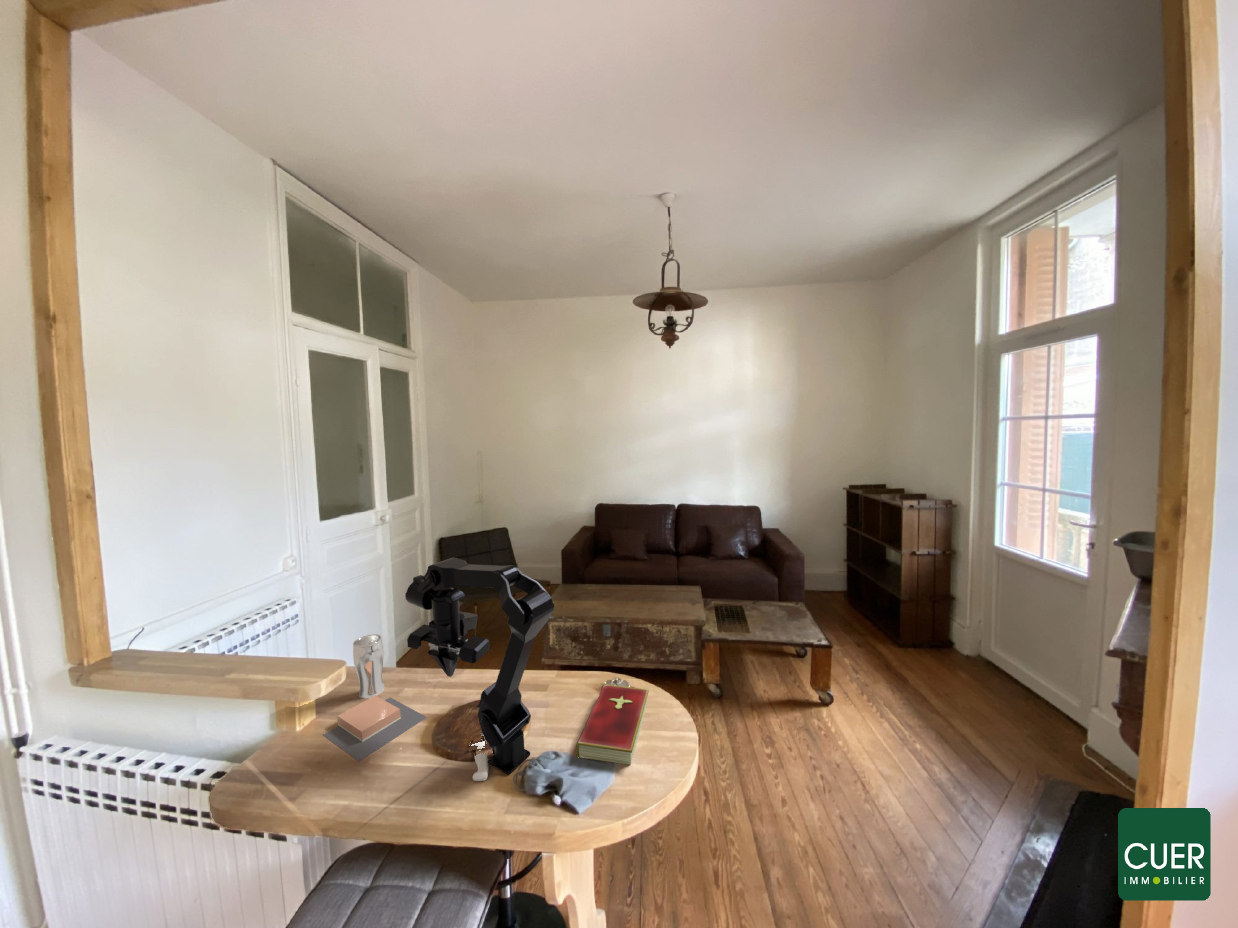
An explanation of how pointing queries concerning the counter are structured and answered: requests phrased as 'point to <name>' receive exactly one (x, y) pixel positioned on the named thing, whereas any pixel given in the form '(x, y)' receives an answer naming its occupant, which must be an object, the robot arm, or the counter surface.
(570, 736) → the counter surface
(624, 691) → the hardcover book
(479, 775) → the knife
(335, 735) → the mat
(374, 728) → the tile
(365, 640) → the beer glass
